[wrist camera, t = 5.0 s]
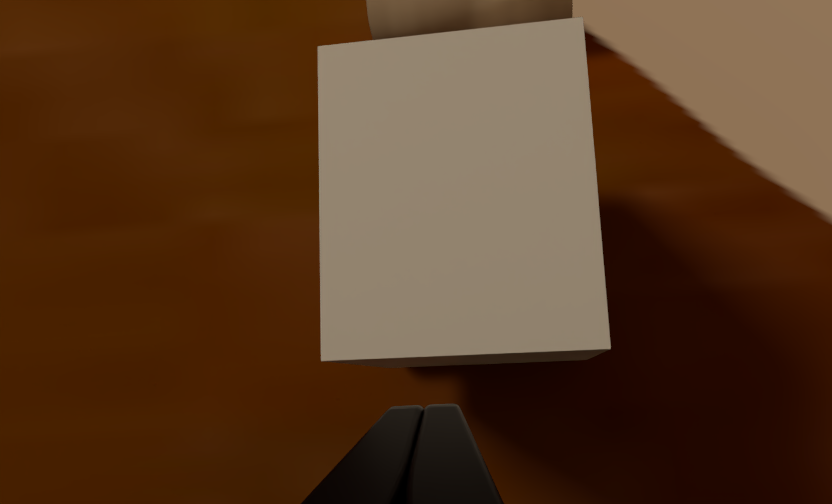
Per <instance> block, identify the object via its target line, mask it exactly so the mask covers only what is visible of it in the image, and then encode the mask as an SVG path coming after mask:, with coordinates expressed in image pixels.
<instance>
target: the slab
mask: <svg viewBox="0 0 832 504" xmlns="http://www.w3.org/2000/svg"><path fill="white" fill-rule="evenodd" d="M318 115H319V213H320V310H321V361H326V362H336V363H345V364H355V365H365V366H375V367H384V368H399V367H424V366H449V365H474V364H500V363H525V362H550V361H575V360H588V359H590V358H592V357H594V356H596V355H599V354H601V353H603V352H605V351H607V350H610V349H611V344H610V332H609V320H608V308H607V296H606V285H605V273H604V261H603V249H602V237H601V225H600V213H599V201H598V189H597V178H596V166H595V154H594V142H593V130H592V118H591V106H590V94H589V82H588V71H587V59H586V47H585V35H584V23H583V17H578V18H568V19H559V20H550V21H541V22H532V23H523V24H514V25H505V26H496V27H487V28H478V29H469V30H460V31H451V32H442V33H433V34H424V35H416V36H407V37H398V38H389V39H380V40H371V41H362V42H353V43H344V44H335V45H326V46H318Z"/></svg>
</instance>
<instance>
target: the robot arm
mask: <svg viewBox="0 0 832 504" xmlns="http://www.w3.org/2000/svg"><path fill="white" fill-rule="evenodd" d="M301 504H504V503H503V501H502V499H501V496H500V494H499V492H498V490H497V488H496V486H495V483H494V481H493V479H492V477H491V475H490V472H489V470H488V468H487V466H486V464H485V461H484V459H483V457H482V455H481V453H480V450H479V448H478V446H477V444H476V442H475V439H474V437H473V435H472V433H471V431H470V428H469V426H468V424H467V422H466V420H465V418H464V415H463V413H462V411H461V409H460V407H459V406H458V405H456V404H435V405H428V406H427V407H426V408H425V409H424V408H423V407H421V406H419V405H414V406H394V407H391V408H390V409H388V410H387V411H386V412H385V413H384V414H383V415H382V417H381V418H380V419H379V420H378V421H377V422H376V423H375V424H374V425H373V426H372V427H371V428H370V430H369V431H368V432H367V433H366V434H365V435H364V436H363V437H362V438H361V439H360V440H359V441H358V442H357V444H356V445H355V446H354V447H353V448H352V449H351V450H350V451H349V452H348V453H347V454H346V455H345V457H344V458H343V459H342V460H341V461H340V462H339V463H338V464H337V465H336V466H335V467H334V468H333V469H332V471H331V472H330V473H329V474H328V475H327V476H326V477H325V478H324V479H323V480H322V481H321V482H320V484H319V485H318V486H317V487H316V488H315V489H314V490H313V491H312V492H311V493H310V494H309V495H308V496H307V498H306V499H305V500H304V501H303V502H302V503H301Z"/></svg>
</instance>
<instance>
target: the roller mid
mask: <svg viewBox="0 0 832 504" xmlns="http://www.w3.org/2000/svg"><path fill="white" fill-rule="evenodd" d="M366 1H367V12H368V19H369V25H370V30H371V34H372V37H373V40H380V39H389V38H398V37H407V36H416V35H424V34H433V33H442V32H451V31H460V30H469V29H478V28H487V27H496V26H505V25H514V24H523V23H532V22H541V21H550V20H559V19H568V18H572V0H366Z"/></svg>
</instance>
